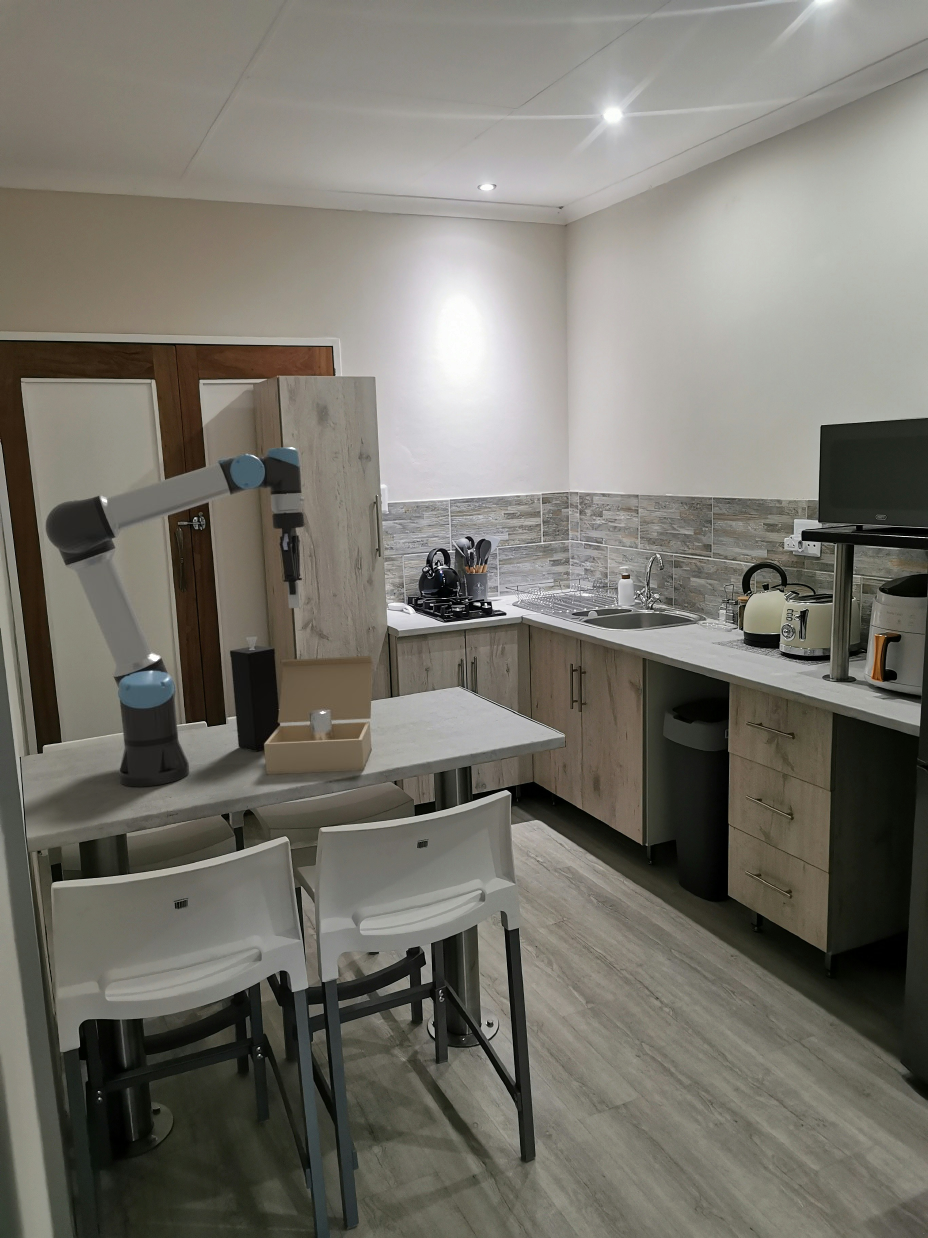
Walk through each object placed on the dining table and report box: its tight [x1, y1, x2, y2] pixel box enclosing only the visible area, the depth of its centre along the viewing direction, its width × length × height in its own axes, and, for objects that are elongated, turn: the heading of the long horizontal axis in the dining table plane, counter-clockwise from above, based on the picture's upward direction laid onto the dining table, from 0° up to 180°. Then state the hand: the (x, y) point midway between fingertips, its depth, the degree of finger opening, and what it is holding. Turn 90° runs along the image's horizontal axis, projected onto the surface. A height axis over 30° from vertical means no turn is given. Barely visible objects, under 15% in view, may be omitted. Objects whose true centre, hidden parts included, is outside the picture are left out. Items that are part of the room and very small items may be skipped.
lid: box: [278, 655, 373, 724], centre depth 226 cm, size 22×16×3 cm
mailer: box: [263, 721, 373, 775], centre depth 215 cm, size 22×16×7 cm
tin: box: [309, 710, 333, 741], centre depth 218 cm, size 5×5×10 cm
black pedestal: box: [229, 636, 281, 752], centre depth 229 cm, size 8×8×28 cm
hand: (294, 607), depth 228 cm, fingers closed
